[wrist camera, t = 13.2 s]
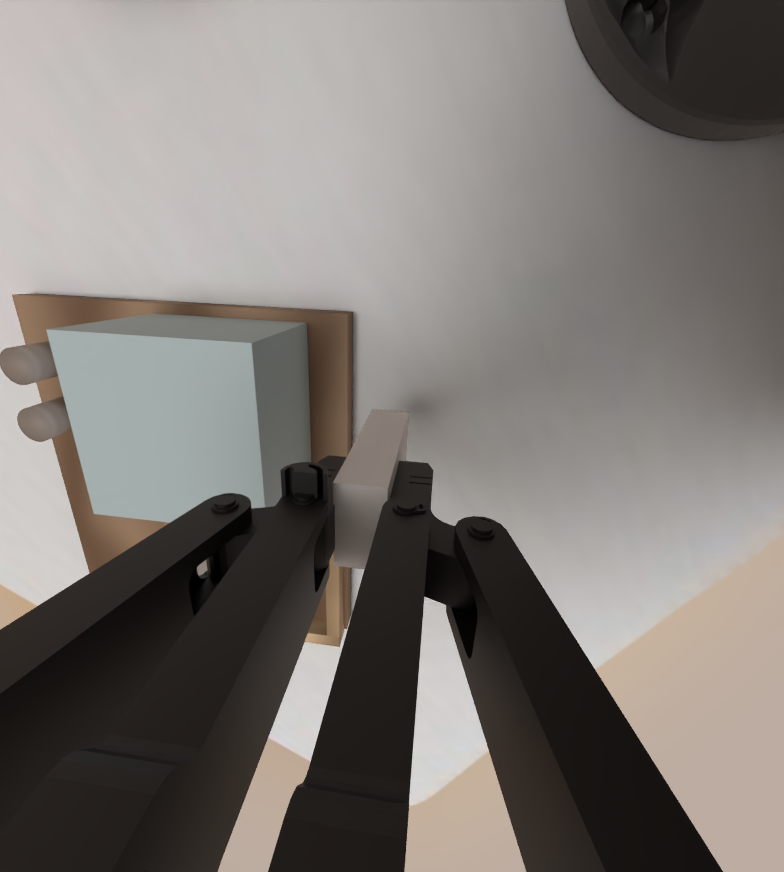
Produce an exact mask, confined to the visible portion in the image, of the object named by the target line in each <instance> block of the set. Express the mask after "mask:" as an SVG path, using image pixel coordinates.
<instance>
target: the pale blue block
mask: <svg viewBox="0 0 784 872" xmlns="http://www.w3.org/2000/svg"><path fill="white" fill-rule="evenodd" d="M46 331H47V335H48V339H49V342H50V346H51V350H52V354H53V358H54V362H55V366H56V370H57V373H58V377H59V381H60V385H61V389H62V393H63V397H64V401H65V404H66V408H67V412H68V416H69V420H70V424H71V428H72V432H73V435H74V439H75V443H76V447H77V451H78V455H79V459H80V463H81V466H82V470H83V474H84V478H85V482H86V486H87V490H88V494H89V497H90V501H91V505H92V509H93V513H94V514H99V515H108V516H117V517H125V518H134V519H143V520H151V521H160V522H169V523H170V522H172V521H173V520H175V519H177V518H178V517H180V516H181V515H183V514H185V513H186V512H188V511H189V510H191V509H192V508H194V507H196V506H197V505H199V504H200V503H202V502H204V501H205V500H207V499H209V498H211V497H213V496H217V495H221V494H224V493H228V494H229V493H235V494H242V495H244V496H247V497H248V498H249V499H250V500H251V507H252V508H263V507H272V506H275V505H276V504H277V503H278V501H279V500H280V498H281V497H282V489H281V473H280V470H281V469H282V468H284V467H285V466H288V465H290V464H293V463H299V462H311V432H310V401H309V371H308V340H307V323H305V322H289V321H272V320H255V319H239V318H222V317H206V316H189V315H172V314H156V313H154V314H147V315H140V316H133V317H127V318H120V319H113V320H106V321H100V322H93V323H86V324H79V325H73V326H66V327H59V328H52V329H46Z"/></svg>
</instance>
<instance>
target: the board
mask: <svg viewBox="0 0 784 872" xmlns="http://www.w3.org/2000/svg"><path fill="white" fill-rule="evenodd" d="M12 297H13V300H14V304H15V308H16V311H17V315H18V318H19V322H20V326H21V329H22V333H23V336H24V340H25V343H26V345H22V346H17V347H11V348H6V349H4V350H3V351H2V352H1V354H0V366H1V369H2V371H3V372H4V374H5V375H6V376H7V377H8V378H9V379H10V380H11V381H13V382H15V383H17V384H20V385H27V384H31V383H34V382H36V383H37V386H38V390H39V394H40V397H41V401H42V403H40V404H37V405H34V406H31V407H28V408H25V409H23V410H21V411H20V412H19V414H18V417H17V420H18V425H19V427H20V429H21V430H22V432H23V433H24V434H25V435H26V436H27V437H29V438H30V439H32V440H34V441H38V442H42V441H46V440H48V439H50V438H52V440H53V444H54V447H55V451H56V454H57V458H58V462H59V465H60V469H61V472H62V476H63V479H64V483H65V487H66V490H67V494H68V497H69V501H70V504H71V508H72V512H73V515H74V519H75V522H76V526H77V530H78V533H79V537H80V540H81V544H82V547H83V551H84V555H85V558H86V562H87V565H88V569H89V572H90V573H91V572H93V571H94V570H96V569H97V568H99V567H101V566H102V565H104V564H105V563H107V562H109V561H110V560H112V559H113V558H115V557H116V556H118V555H120V554H121V553H123V552H124V551H126V550H128V549H129V548H131V547H132V546H134V545H135V544H137V543H139V542H140V541H142V540H143V539H145V538H147V537H148V536H150V535H151V534H153V533H154V532H156V531H158V530H159V529H161V528H162V527H164V526H166V525H167V524H169V522H160V521H151V520H143V519H134V518H125V517H117V516H108V515H99V514H94V513H93V509H92V505H91V501H90V497H89V494H88V490H87V486H86V482H85V478H84V474H83V470H82V466H81V463H80V459H79V455H78V451H77V447H76V443H75V439H74V435H73V432H72V428H71V424H70V420H69V416H68V412H67V408H66V404H65V401H64V397H63V393H62V389H61V385H60V381H59V377H58V373H57V370H56V366H55V362H54V358H53V354H52V350H51V346H50V342H49V339H48V335H47V331H46V329H52V328H59V327H66V326H73V325H79V324H86V323H93V322H100V321H106V320H113V319H120V318H127V317H133V316H140V315H147V314H154V313H156V314H172V315H189V316H206V317H222V318H239V319H255V320H272V321H289V322H305V323H307V340H308V371H309V401H310V432H311V462H313V463H318V461H319V460H321V459H323V458H325V457H327V456H328V455H330V456H341V457H347V456H348V454H349V452H350V450H351V448H352V371H353V312H348V311H330V310H312V309H295V308H277V307H260V306H242V305H225V304H207V303H189V302H172V301H154V300H137V299H119V298H101V297H84V296H66V295H49V294H17V295H12ZM329 566H330V573H329V579H328V581H327V584H326V587H325V589H324V592H323V595H322V597H321V600H320V602H319V605H318V608H317V610H316V613H315V616H314V618H313V621H312V623H311V626H310V629H309V631H308V634H307V637H306V639H305V642H309V643H316V644H323V645H330V646H337V647H339V646H340V643H341V640H342V636H343V633H344V628H345V629H347V626H348V623H349V619H350V616H351V568H350V567H341V566H334V551H333V554H332V556H331V559H330V561H329Z"/></svg>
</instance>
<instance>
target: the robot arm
mask: <svg viewBox="0 0 784 872" xmlns="http://www.w3.org/2000/svg"><path fill="white" fill-rule="evenodd" d="M566 5H567V9H568V12H569V16H570V20H571V23H572V26H573V29H574V31H575V34H576V37H577V39H578V42H579V44H580V46H581V48H582V51H583V53H584V54H585V56H586V58H587V60H588V62H589V64H590V65H591V67H592V68H593V70H594V72H595V73H596V75H597V76H598V78H599V79H600V80H601V81H602V83H603V84H604V85H605V86H606V88H607V89H608V90H609V91H610V92H611V93H612V94H613V95H614V96H615V97H616V98H617V99H618V100H619V101H620V102H621V103H622V104H623V105H624V106H626V107H627V108H628V109H629V110H631V111H632V112H634V113H635V114H636V115H638V116H639V117H641V118H643V119H644V120H646V121H648V122H650V123H651V124H653V125H656V126H658V127H660V128H662V129H665V130H668V131H671V132H673V133H676V134H680V135H684V136H689V137H693V138H700V139H710V140H738V139H747V138H755V137H760V136H765V135H770V134H774V133H778V132H782V131H784V0H566ZM408 416H409V412H403V411H390V410H378V409H372V411H371V413H370V415H369V417H368V419H367V421H366V422H365V424H364V426H363V428H362V430H361V432H360V434H359V435H358V437H357V439H356V441H355V443H354V445H353V447H352V448H351V450H350V452H349V454H348V456H347V457H341V456H330V455H328V456H327V457H325V458H323V459H321V460H319V461H318V463H313V462H299V463H293V464H290V465H288V466H285V467H284V468H282V469H281V470H280V473H281V489H282V497H281V498H280V500H279V501H278V503H277V504H276V505H275V506H272V507H263V508H252V507H251V500H250V499H249V498H248V497H247V496H244V495H242V494H235V493H229V494H228V493H224V494H221V495H217V496H213V497H211V498H209V499H207V500H205V501H204V502H202V503H200V504H199V505H197V506H196V507H194V508H192V509H191V510H189V511H188V512H186V513H185V514H183V515H181V516H180V517H178V518H177V519H175V520H173V521H172V522H170V523H169V524H167V525H166V526H164V527H162V528H161V529H159V530H158V531H156V532H154V533H153V534H151V535H150V536H148V537H147V538H145V539H143V540H142V541H140V542H139V543H137V544H135V545H134V546H132V547H131V548H129V549H128V550H126V551H124V552H123V553H121V554H120V555H118V556H116V557H115V558H113V559H112V560H110V561H109V562H107V563H105V564H104V565H102V566H101V567H99V568H97V569H96V570H94V571H93V572H91V573H90V574H88V575H86V576H85V577H83V578H82V579H80V580H78V581H77V582H75V583H74V584H72V585H71V586H69V587H67V588H66V589H64V590H63V591H61V592H59V593H58V594H56V595H55V596H53V597H52V598H50V599H48V600H47V601H45V602H44V603H42V604H40V605H39V606H37V607H36V608H34V609H33V610H31V611H29V612H28V613H26V614H25V615H23V616H21V617H20V618H18V619H17V620H15V621H14V622H12V623H10V624H9V625H7V626H6V627H4V628H2V629H1V630H0V872H218V868H219V866H220V862H221V859H222V857H223V854H224V852H225V849H226V846H227V844H228V841H229V839H230V836H231V833H232V831H233V828H234V825H235V823H236V820H237V818H238V815H239V812H240V809H241V807H242V804H243V802H244V799H245V797H246V794H247V791H248V789H249V786H250V783H251V780H252V778H253V776H254V773H255V770H256V768H257V765H258V762H259V760H260V757H261V755H262V752H263V749H264V746H265V744H266V742H267V739H268V736H269V734H270V731H271V728H272V726H273V723H274V721H275V718H276V715H277V713H278V710H279V707H280V705H281V702H282V700H283V697H284V694H285V692H286V689H287V686H288V684H289V681H290V679H291V676H292V673H293V671H294V668H295V665H296V663H297V660H298V658H299V655H300V652H301V650H302V647H303V644H304V642H305V639H306V637H307V634H308V631H309V629H310V626H311V623H312V621H313V618H314V616H315V613H316V610H317V608H318V605H319V602H320V600H321V597H322V595H323V592H324V589H325V587H326V584H327V581H328V579H329V573H330V566H329V561H330V559H331V556H332V554H333V551H334V566H341V567H350V568H359V569H365V570H364V574H363V577H362V581H361V584H360V588H359V592H358V595H357V599H356V602H355V606H354V609H353V613H352V617H351V620H350V624H349V627H348V631H347V634H346V638H345V641H344V645H343V649H342V652H341V656H340V659H339V663H338V666H337V670H336V674H335V677H334V681H333V684H332V688H331V691H330V695H329V698H328V702H327V706H326V709H325V713H324V716H323V720H322V723H321V727H320V731H319V734H318V738H317V741H316V745H315V748H314V752H313V755H312V759H311V763H310V766H309V770H308V772H307V775H306V778H305V780H304V782H303V783H302V784H300V785H298V786H297V787H296V789H295V791H294V793H293V795H292V797H291V800H290V803H289V806H288V808H287V811H286V814H285V817H284V820H283V824H282V827H281V830H280V834H279V837H278V840H277V844H276V847H275V851H274V854H273V857H272V861H271V864H270V867H269V871H268V872H404V867H405V854H406V841H407V827H408V812H409V793H410V779H411V766H412V752H413V739H414V726H415V712H416V699H417V686H418V672H419V659H420V645H421V632H422V619H423V605H424V596H425V597H427V598H430V599H432V600H435V601H438V602H440V603H443V604H445V605H446V613H447V616H448V619H449V623H450V626H451V629H452V632H453V636H454V639H455V642H456V645H457V649H458V652H459V655H460V658H461V661H462V665H463V668H464V671H465V674H466V678H467V681H468V684H469V687H470V691H471V694H472V697H473V700H474V704H475V707H476V710H477V713H478V716H479V720H480V723H481V726H482V729H483V733H484V736H485V739H486V742H487V746H488V749H489V752H490V755H491V758H492V762H493V765H494V768H495V771H496V775H497V778H498V781H499V784H500V788H501V791H502V794H503V797H504V801H505V804H506V807H507V810H508V813H509V817H510V820H511V823H512V826H513V830H514V833H515V836H516V839H517V843H518V846H519V849H520V852H521V856H522V859H523V862H524V865H525V869H526V871H527V872H723V871H722V870H721V868H720V866H719V865H718V863H717V862H716V860H715V858H714V857H713V855H712V854H711V852H710V851H709V849H708V847H707V846H706V844H705V843H704V841H703V839H702V838H701V836H700V835H699V833H698V832H697V830H696V829H695V827H694V825H693V824H692V822H691V821H690V819H689V817H688V816H687V814H686V813H685V811H684V810H683V808H682V806H681V805H680V803H679V802H678V800H677V798H676V797H675V795H674V794H673V792H672V791H671V789H670V787H669V786H668V784H667V783H666V781H665V780H664V778H663V776H662V775H661V773H660V772H659V770H658V768H657V767H656V765H655V764H654V762H653V761H652V759H651V757H650V756H649V754H648V753H647V751H646V750H645V748H644V746H643V745H642V743H641V742H640V740H639V738H638V737H637V735H636V734H635V732H634V731H633V729H632V727H631V726H630V724H629V723H628V721H627V719H626V718H625V717H624V715H623V714H622V712H621V710H620V708H619V707H618V706H617V704H616V702H615V701H614V699H613V697H612V696H611V694H610V693H609V691H608V689H607V688H606V686H605V685H604V683H603V682H602V680H601V678H600V677H599V675H598V674H597V672H596V671H595V669H594V667H593V666H592V664H591V663H590V661H589V659H588V658H587V656H586V655H585V653H584V652H583V650H582V648H581V647H580V645H579V644H578V642H577V641H576V639H575V637H574V636H573V634H572V633H571V631H570V629H569V628H568V626H567V625H566V623H565V622H564V620H563V618H562V617H561V615H560V614H559V612H558V611H557V609H556V607H555V606H554V604H553V603H552V601H551V599H550V598H549V596H548V595H547V593H546V592H545V590H544V588H543V587H542V585H541V584H540V582H539V581H538V579H537V577H536V576H535V574H534V573H533V571H532V569H531V568H530V566H529V565H528V563H527V562H526V560H525V558H524V557H523V555H522V554H521V552H520V551H519V549H518V547H517V546H516V544H515V543H514V541H513V539H512V538H511V536H510V535H509V533H508V532H507V530H506V529H505V528H504V527H503V526H502V525H501V524H499V523H498V522H496V521H494V520H492V519H489V518H485V517H475V516H473V517H466V518H463V519H461V520H459V521H458V523H457V524H456V526H452V525H449V524H447V523H444V522H442V521H440V520H439V519H437V518H436V517H435V516H434V515H433V514H432V512H431V493H432V479H433V469H432V468H431V467H430V466H429V464H428V463H420V462H409V461H406V449H407V433H408ZM205 560H206V564H207V571H206V572H205V573H203V574H202V575H200V576H199V575H198V572H197V567H198V566H199V565H200V564H201V563H203V562H204V561H205Z"/></svg>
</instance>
